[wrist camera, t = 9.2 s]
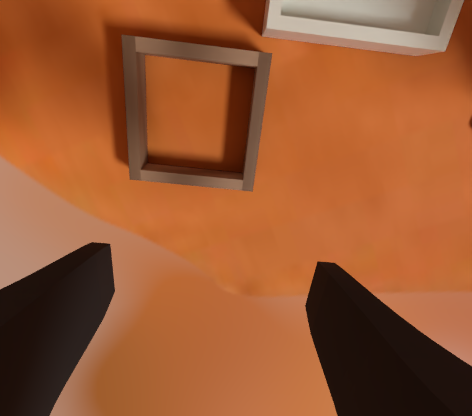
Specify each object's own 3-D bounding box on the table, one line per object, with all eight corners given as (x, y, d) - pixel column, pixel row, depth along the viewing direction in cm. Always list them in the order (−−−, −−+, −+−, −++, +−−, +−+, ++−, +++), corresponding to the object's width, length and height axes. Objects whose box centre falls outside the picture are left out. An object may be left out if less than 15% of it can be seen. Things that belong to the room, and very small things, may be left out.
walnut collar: (268, 56, 16) (272, 53, 14) (250, 183, 19) (252, 191, 18) (132, 39, 15) (121, 34, 14) (137, 172, 19) (129, 179, 17)
